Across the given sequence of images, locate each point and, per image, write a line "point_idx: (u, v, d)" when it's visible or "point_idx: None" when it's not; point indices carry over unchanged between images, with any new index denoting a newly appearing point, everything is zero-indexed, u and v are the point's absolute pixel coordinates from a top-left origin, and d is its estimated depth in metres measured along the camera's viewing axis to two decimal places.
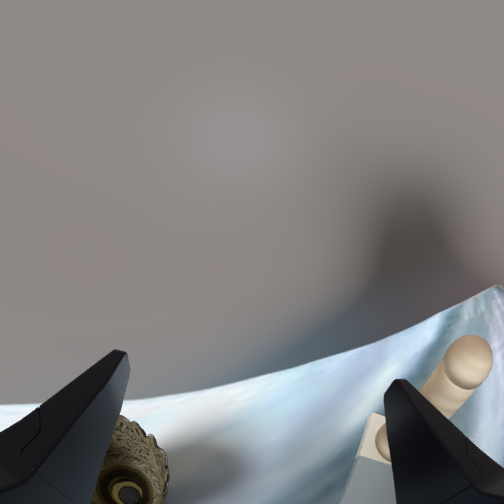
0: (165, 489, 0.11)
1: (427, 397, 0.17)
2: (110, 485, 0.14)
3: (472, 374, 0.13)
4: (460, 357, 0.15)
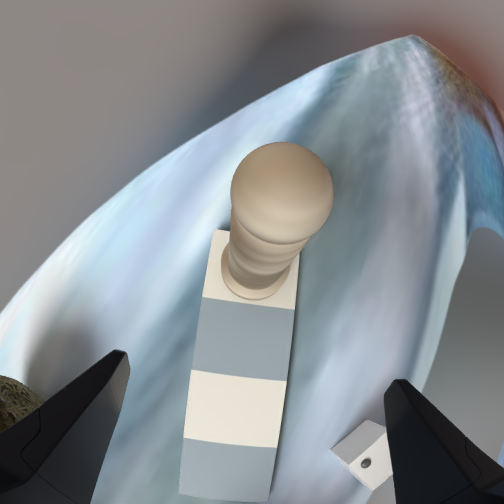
0: (16, 421, 0.11)
1: (234, 241, 0.14)
2: None
3: (275, 230, 0.10)
4: (243, 198, 0.10)
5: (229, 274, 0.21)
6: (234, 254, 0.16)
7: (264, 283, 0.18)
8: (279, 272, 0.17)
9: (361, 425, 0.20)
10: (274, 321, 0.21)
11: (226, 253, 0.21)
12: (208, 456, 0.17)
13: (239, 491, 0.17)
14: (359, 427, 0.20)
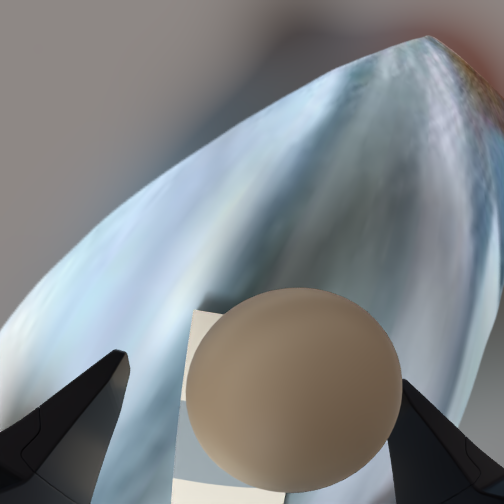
0: None
1: None
2: None
3: None
4: (209, 451, 0.04)
5: None
6: None
7: None
8: None
9: None
10: None
11: None
12: None
13: None
14: None
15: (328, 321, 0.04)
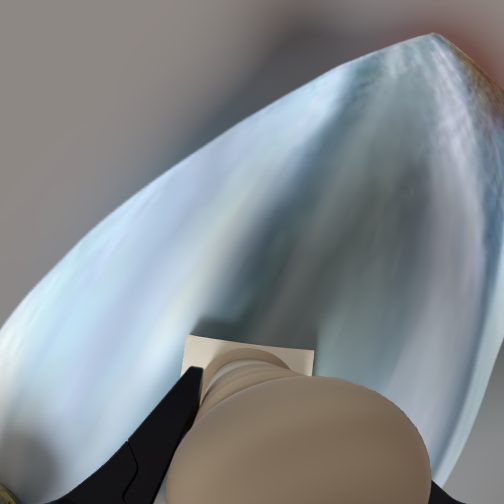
0: None
1: None
2: None
3: None
4: None
5: None
6: None
7: None
8: None
9: None
10: None
11: (203, 384, 0.13)
12: None
13: None
14: None
15: (353, 461, 0.02)
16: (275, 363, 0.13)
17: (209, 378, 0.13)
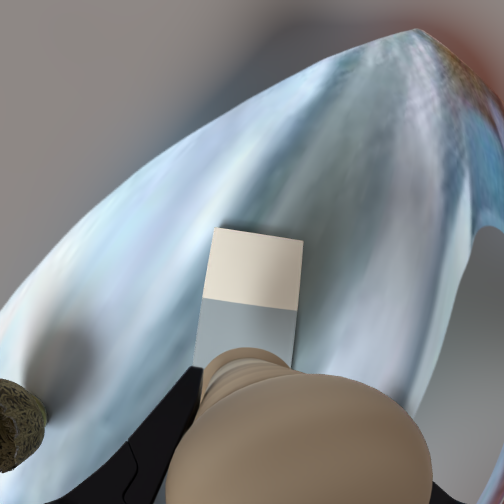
0: (15, 426, 0.11)
1: None
2: None
3: None
4: None
5: None
6: None
7: None
8: None
9: None
10: (276, 322, 0.21)
11: (203, 384, 0.13)
12: None
13: None
14: None
15: (355, 458, 0.02)
16: (275, 362, 0.13)
17: (209, 377, 0.13)
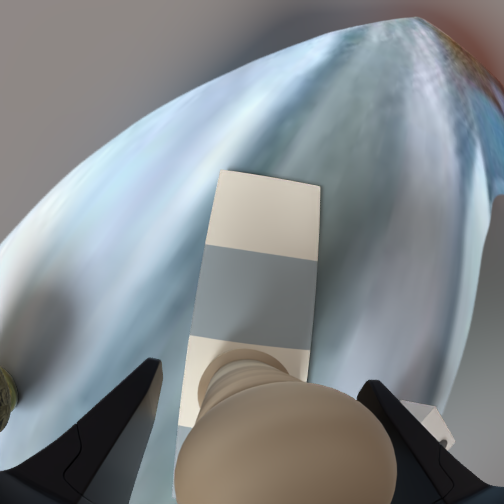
0: None
1: None
2: None
3: None
4: None
5: None
6: None
7: None
8: None
9: None
10: (293, 274, 0.17)
11: (204, 383, 0.14)
12: None
13: None
14: None
15: (322, 452, 0.03)
16: (272, 363, 0.14)
17: (210, 377, 0.14)
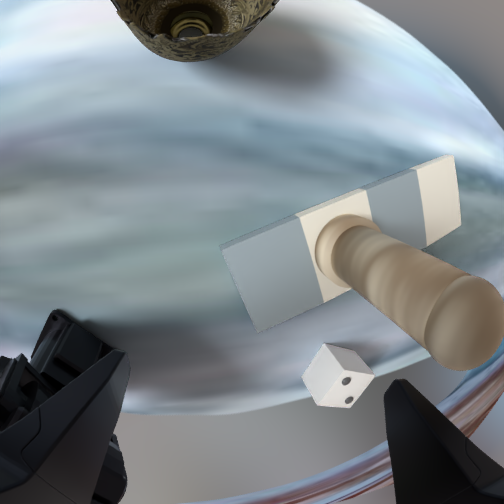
0: (252, 25, 0.09)
1: (401, 274, 0.12)
2: (177, 20, 0.13)
3: (444, 351, 0.09)
4: (468, 319, 0.08)
5: (336, 237, 0.18)
6: (380, 266, 0.14)
7: (349, 284, 0.17)
8: None
9: (350, 351, 0.25)
10: (417, 236, 0.22)
11: (354, 223, 0.18)
12: (290, 252, 0.19)
13: (261, 302, 0.20)
14: (349, 351, 0.25)
15: None
16: None
17: (359, 224, 0.18)
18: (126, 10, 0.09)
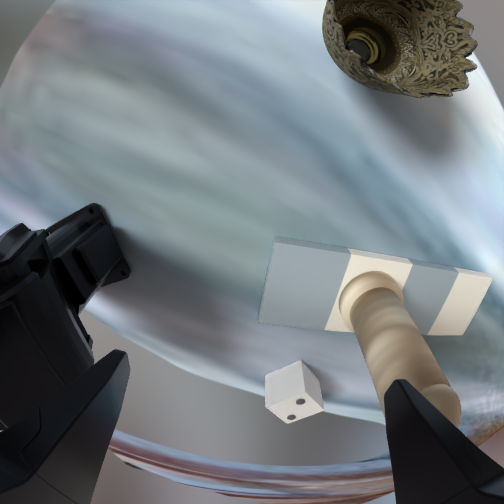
0: (426, 95, 0.10)
1: (403, 354, 0.13)
2: (356, 28, 0.13)
3: None
4: None
5: (369, 288, 0.19)
6: (391, 336, 0.15)
7: (356, 331, 0.18)
8: (365, 359, 0.17)
9: (316, 378, 0.27)
10: (425, 323, 0.23)
11: (389, 285, 0.19)
12: (326, 276, 0.20)
13: (277, 301, 0.21)
14: (315, 377, 0.27)
15: None
16: None
17: (392, 289, 0.19)
18: None
